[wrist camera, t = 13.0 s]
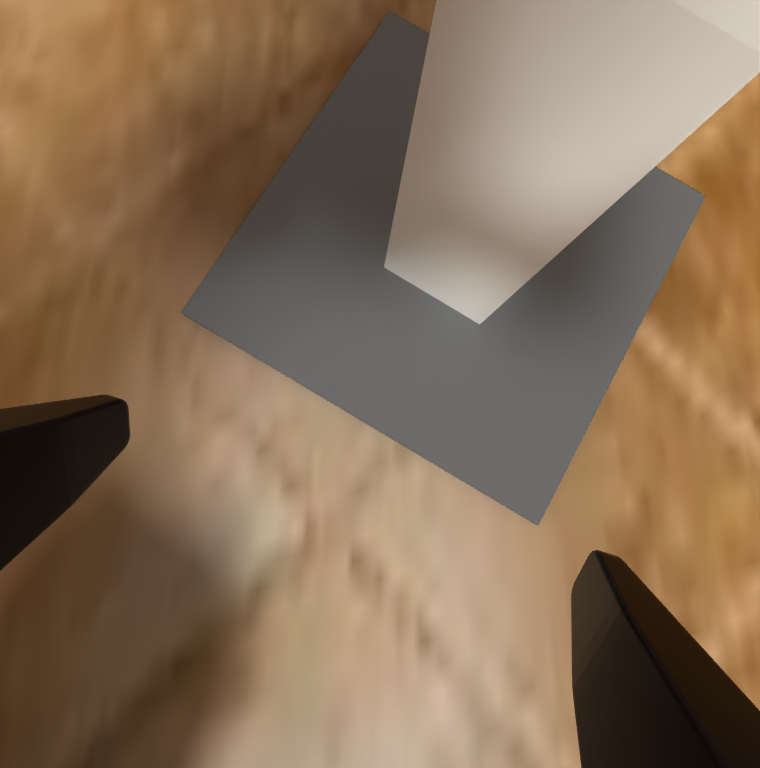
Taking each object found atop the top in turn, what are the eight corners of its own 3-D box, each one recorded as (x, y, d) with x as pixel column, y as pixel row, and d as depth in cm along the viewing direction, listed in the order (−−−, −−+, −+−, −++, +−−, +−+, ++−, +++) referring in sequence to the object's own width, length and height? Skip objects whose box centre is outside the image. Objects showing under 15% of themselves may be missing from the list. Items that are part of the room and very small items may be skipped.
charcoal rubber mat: (534, 523, 17) (538, 525, 17) (184, 315, 17) (181, 312, 17) (698, 201, 20) (705, 196, 19) (388, 19, 20) (389, 10, 19)
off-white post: (479, 324, 18) (772, 59, 5) (383, 267, 18) (460, -123, 6) (531, 235, 18) (897, -181, 6) (438, 180, 19) (616, -344, 6)
